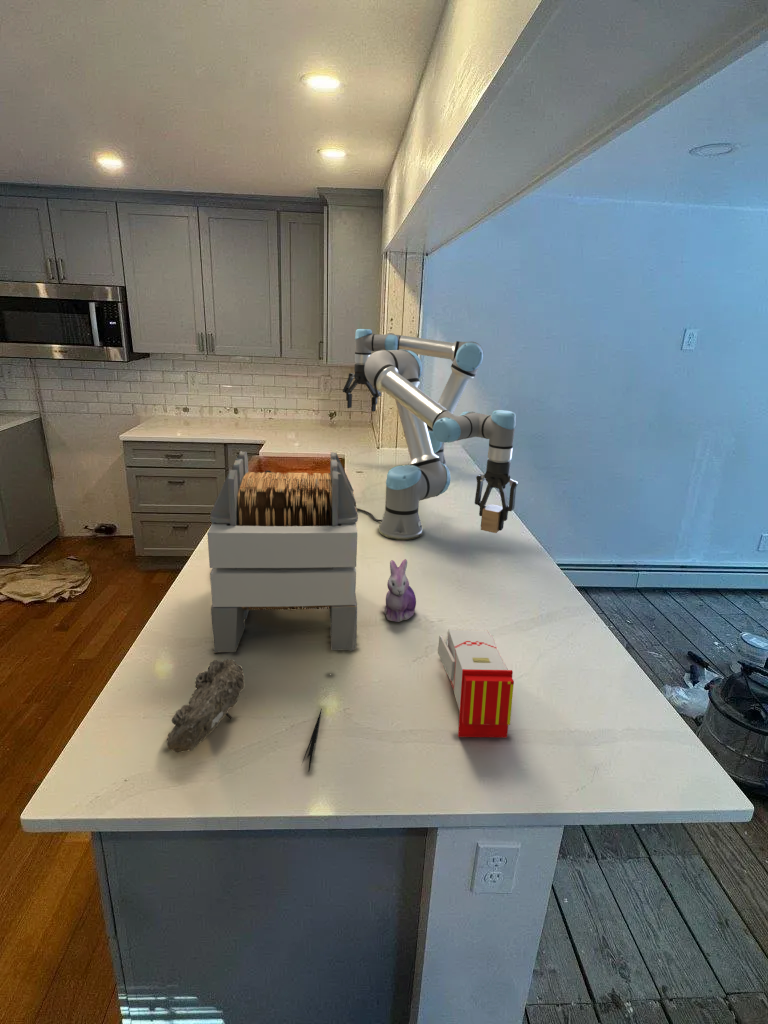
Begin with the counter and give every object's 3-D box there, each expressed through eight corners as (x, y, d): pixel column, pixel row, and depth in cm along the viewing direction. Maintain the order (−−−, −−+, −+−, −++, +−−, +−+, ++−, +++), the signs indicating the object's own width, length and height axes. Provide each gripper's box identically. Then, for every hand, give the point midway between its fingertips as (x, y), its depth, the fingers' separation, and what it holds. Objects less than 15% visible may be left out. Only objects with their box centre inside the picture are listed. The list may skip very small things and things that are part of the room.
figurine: (392, 627, 141) (395, 572, 136) (374, 608, 149) (376, 556, 144) (425, 619, 145) (429, 566, 140) (405, 601, 154) (408, 550, 149)
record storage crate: (232, 584, 158) (225, 442, 144) (349, 583, 162) (353, 444, 148) (211, 655, 127) (198, 480, 113) (357, 651, 130) (362, 482, 117)
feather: (331, 679, 122) (336, 673, 122) (307, 777, 96) (313, 769, 95) (324, 675, 122) (329, 669, 121) (298, 772, 95) (304, 764, 95)
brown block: (496, 533, 185) (498, 512, 183) (480, 529, 188) (482, 509, 185) (502, 527, 191) (504, 506, 189) (487, 523, 193) (489, 503, 191)
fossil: (192, 660, 117) (244, 628, 112) (224, 691, 120) (276, 661, 115) (142, 746, 98) (202, 712, 93) (182, 779, 101) (242, 748, 96)
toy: (488, 613, 130) (523, 677, 101) (484, 667, 133) (517, 744, 104) (435, 612, 130) (455, 676, 101) (432, 666, 133) (451, 743, 103)
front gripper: (530, 461, 180) (522, 529, 188) (475, 453, 189) (469, 518, 196) (524, 466, 174) (515, 536, 182) (467, 457, 182) (461, 525, 190)
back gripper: (389, 365, 261) (387, 411, 268) (344, 361, 272) (344, 405, 279) (381, 366, 255) (379, 413, 262) (335, 361, 266) (335, 407, 273)
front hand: (491, 527), depth 189 cm, fingers closed on brown block, 5 cm apart
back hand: (361, 409), depth 271 cm, fingers open, 13 cm apart
